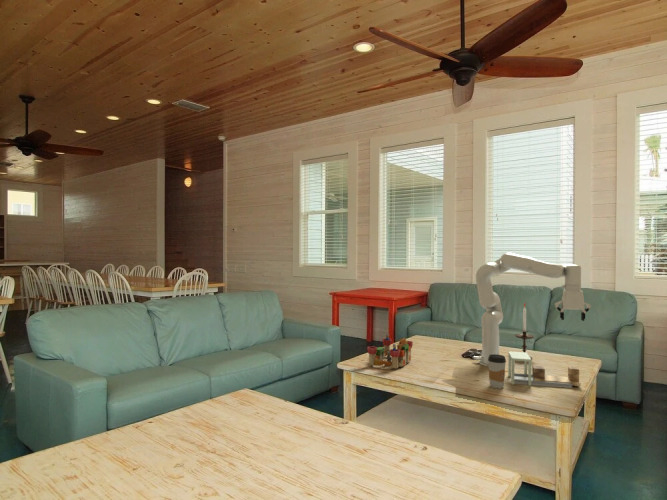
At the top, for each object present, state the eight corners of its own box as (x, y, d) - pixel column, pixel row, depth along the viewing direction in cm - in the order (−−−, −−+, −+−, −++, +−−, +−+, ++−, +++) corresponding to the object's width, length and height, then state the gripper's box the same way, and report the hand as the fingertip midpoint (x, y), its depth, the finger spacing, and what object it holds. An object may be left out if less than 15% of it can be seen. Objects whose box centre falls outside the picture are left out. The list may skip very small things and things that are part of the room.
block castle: (384, 353, 276) (384, 332, 276) (414, 357, 267) (415, 335, 267) (365, 365, 250) (365, 340, 249) (398, 370, 240) (398, 344, 240)
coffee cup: (496, 390, 206) (496, 359, 206) (484, 384, 214) (484, 355, 214) (509, 387, 210) (509, 357, 210) (496, 382, 217) (497, 353, 217)
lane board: (514, 383, 216) (514, 379, 216) (511, 376, 228) (511, 372, 228) (572, 388, 209) (572, 384, 209) (566, 381, 220) (566, 377, 220)
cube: (533, 378, 217) (534, 368, 217) (532, 375, 222) (532, 365, 222) (544, 379, 215) (544, 369, 215) (542, 376, 220) (542, 366, 220)
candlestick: (534, 361, 259) (535, 303, 258) (515, 359, 262) (515, 302, 262) (532, 357, 269) (533, 301, 269) (514, 355, 272) (514, 300, 272)
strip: (535, 382, 214) (535, 367, 214) (532, 376, 224) (532, 362, 224) (580, 386, 209) (580, 371, 209) (575, 380, 218) (575, 365, 218)
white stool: (511, 384, 215) (511, 358, 215) (508, 375, 229) (508, 351, 229) (531, 386, 213) (531, 359, 213) (526, 377, 227) (526, 352, 227)
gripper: (556, 288, 227) (556, 320, 227) (593, 289, 222) (592, 322, 222) (553, 286, 234) (553, 318, 234) (589, 287, 229) (588, 319, 229)
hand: (572, 319), depth 228 cm, fingers open, 9 cm apart
